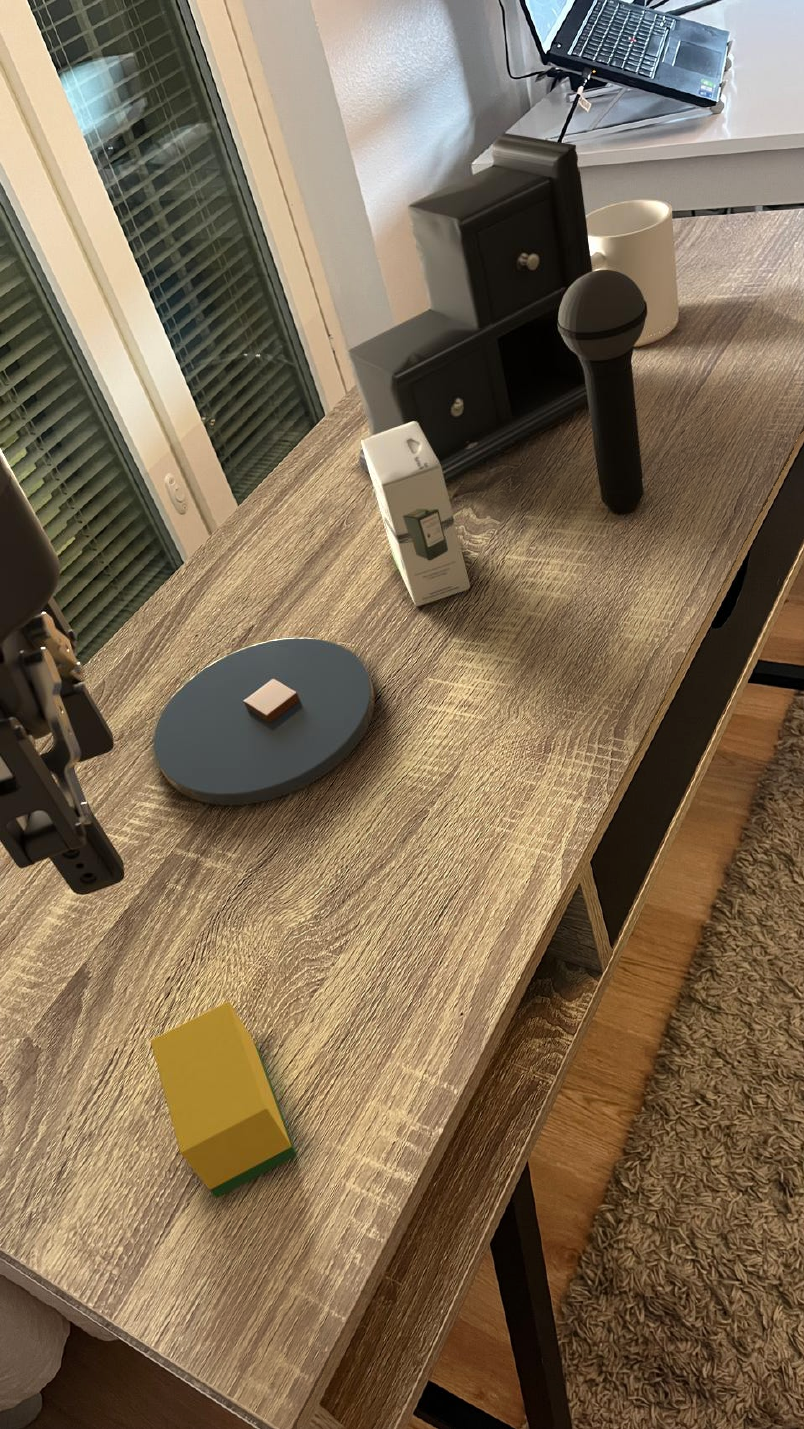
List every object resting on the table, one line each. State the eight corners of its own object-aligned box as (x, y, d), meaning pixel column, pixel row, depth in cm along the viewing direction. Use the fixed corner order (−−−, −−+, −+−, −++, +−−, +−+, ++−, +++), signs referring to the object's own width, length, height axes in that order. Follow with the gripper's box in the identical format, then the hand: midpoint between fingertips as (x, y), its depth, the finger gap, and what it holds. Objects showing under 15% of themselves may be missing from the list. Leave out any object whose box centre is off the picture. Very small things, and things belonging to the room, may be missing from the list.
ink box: (391, 556, 94) (356, 436, 86) (445, 538, 94) (414, 416, 86) (415, 609, 87) (379, 483, 79) (472, 589, 87) (443, 462, 80)
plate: (188, 842, 73) (181, 831, 73) (139, 707, 86) (133, 696, 85) (410, 737, 76) (406, 725, 75) (330, 621, 89) (326, 610, 88)
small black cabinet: (414, 505, 99) (347, 249, 84) (358, 468, 107) (287, 228, 92) (611, 399, 105) (582, 142, 90) (545, 371, 113) (507, 130, 97)
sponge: (216, 1199, 54) (180, 1153, 51) (184, 1087, 59) (149, 1039, 56) (297, 1156, 55) (266, 1108, 52) (258, 1049, 60) (228, 1000, 57)
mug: (693, 310, 115) (686, 197, 107) (649, 364, 109) (638, 248, 101) (611, 309, 120) (599, 201, 112) (564, 360, 114) (548, 249, 106)
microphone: (614, 480, 94) (586, 251, 81) (679, 495, 90) (661, 257, 77) (569, 519, 91) (533, 289, 78) (634, 537, 87) (608, 297, 74)
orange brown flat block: (269, 723, 79) (266, 716, 78) (246, 708, 81) (243, 701, 80) (300, 700, 80) (297, 692, 80) (276, 686, 82) (273, 678, 82)
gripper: (-171, 452, 42) (20, 743, 53) (-245, 654, 31) (14, 969, 42) (11, 389, 43) (164, 691, 53) (0, 568, 32) (196, 902, 42)
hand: (98, 813), depth 48 cm, fingers open, 8 cm apart
